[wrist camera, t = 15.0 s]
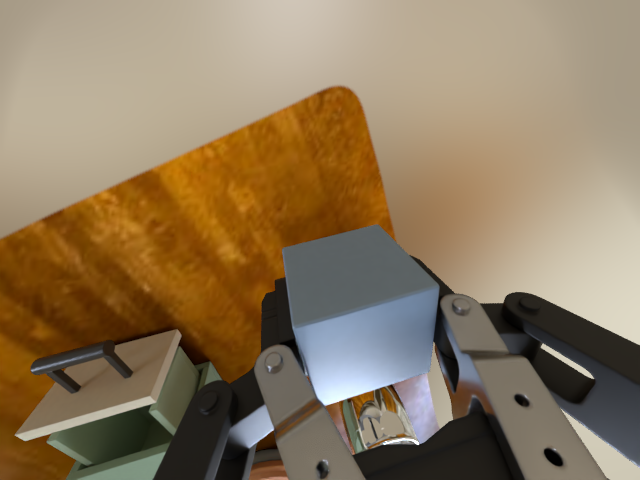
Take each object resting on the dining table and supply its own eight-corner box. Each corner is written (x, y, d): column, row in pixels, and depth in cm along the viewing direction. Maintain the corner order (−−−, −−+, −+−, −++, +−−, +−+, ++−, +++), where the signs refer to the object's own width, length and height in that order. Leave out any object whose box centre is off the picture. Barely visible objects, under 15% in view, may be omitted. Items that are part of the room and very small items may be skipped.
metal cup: (370, 338, 38) (424, 455, 25) (329, 354, 38) (363, 481, 25) (360, 309, 34) (418, 428, 21) (316, 326, 34) (346, 457, 21)
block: (281, 247, 11) (291, 327, 7) (377, 223, 11) (441, 285, 7) (302, 317, 13) (319, 408, 9) (381, 295, 13) (430, 372, 9)
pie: (223, 450, 45) (218, 486, 40) (304, 437, 49) (308, 469, 44) (225, 486, 52) (221, 520, 47) (296, 471, 55) (298, 502, 51)
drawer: (44, 327, 25) (-38, 406, 18) (156, 298, 26) (118, 364, 19) (146, 420, 35) (118, 493, 28) (224, 396, 36) (214, 462, 29)
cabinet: (115, 387, 32) (63, 483, 24) (210, 360, 33) (191, 443, 25) (173, 440, 40) (149, 526, 32) (247, 418, 41) (242, 494, 33)
